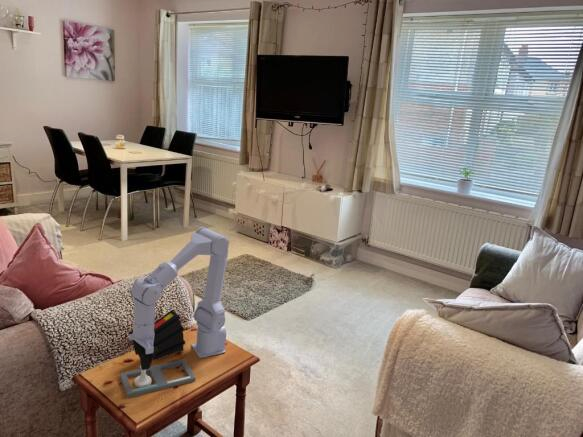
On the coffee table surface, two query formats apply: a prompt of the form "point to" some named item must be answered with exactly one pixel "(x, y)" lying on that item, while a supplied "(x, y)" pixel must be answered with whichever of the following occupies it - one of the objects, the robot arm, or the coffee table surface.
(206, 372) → the coffee table surface
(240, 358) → the coffee table surface
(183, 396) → the coffee table surface
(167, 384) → the port panel
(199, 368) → the coffee table surface
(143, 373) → the chess piece
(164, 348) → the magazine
